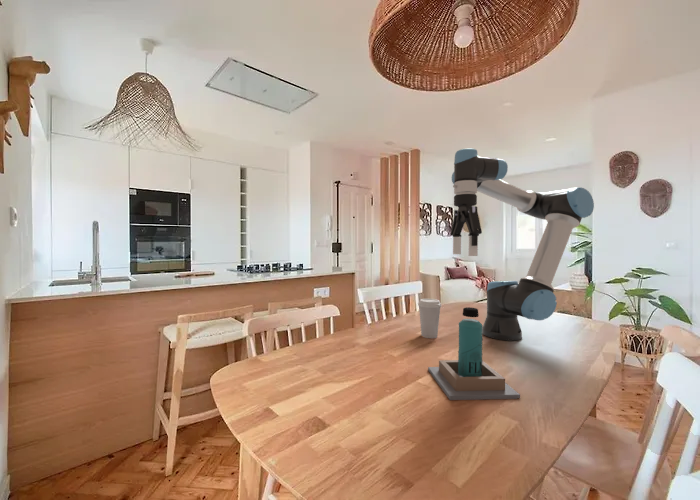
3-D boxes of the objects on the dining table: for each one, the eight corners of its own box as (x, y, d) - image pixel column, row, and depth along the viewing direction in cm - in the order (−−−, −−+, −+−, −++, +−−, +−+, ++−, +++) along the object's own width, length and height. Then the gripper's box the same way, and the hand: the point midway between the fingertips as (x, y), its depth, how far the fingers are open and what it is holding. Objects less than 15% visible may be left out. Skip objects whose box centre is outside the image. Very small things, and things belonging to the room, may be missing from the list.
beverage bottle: (467, 386, 83) (468, 311, 83) (452, 375, 89) (453, 306, 89) (487, 383, 85) (489, 310, 84) (472, 373, 91) (473, 305, 91)
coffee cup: (416, 338, 127) (417, 301, 127) (418, 331, 137) (418, 297, 136) (441, 340, 125) (441, 303, 124) (441, 333, 134) (441, 299, 133)
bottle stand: (485, 369, 97) (485, 356, 96) (520, 398, 79) (520, 382, 78) (428, 370, 96) (428, 357, 96) (449, 400, 78) (450, 384, 78)
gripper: (442, 199, 122) (441, 253, 122) (470, 188, 97) (469, 256, 97) (461, 199, 122) (460, 253, 123) (493, 188, 97) (492, 256, 98)
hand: (464, 255), depth 110 cm, fingers open, 13 cm apart
